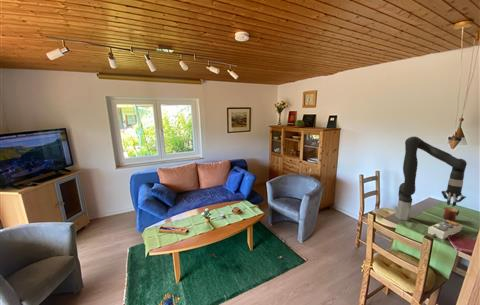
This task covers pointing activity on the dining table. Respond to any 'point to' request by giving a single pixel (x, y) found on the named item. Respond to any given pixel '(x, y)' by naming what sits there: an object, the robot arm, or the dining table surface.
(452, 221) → the rocker
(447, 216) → the mug
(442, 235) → the power strip
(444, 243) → the dining table surface
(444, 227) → the rocker
